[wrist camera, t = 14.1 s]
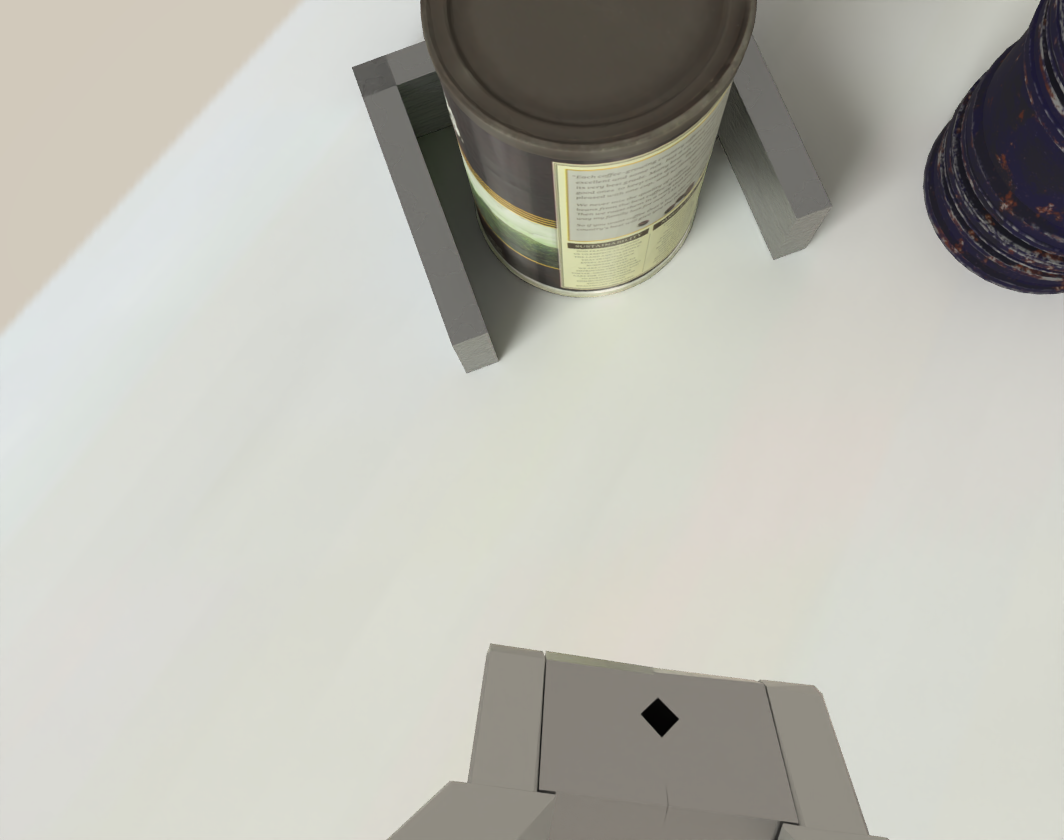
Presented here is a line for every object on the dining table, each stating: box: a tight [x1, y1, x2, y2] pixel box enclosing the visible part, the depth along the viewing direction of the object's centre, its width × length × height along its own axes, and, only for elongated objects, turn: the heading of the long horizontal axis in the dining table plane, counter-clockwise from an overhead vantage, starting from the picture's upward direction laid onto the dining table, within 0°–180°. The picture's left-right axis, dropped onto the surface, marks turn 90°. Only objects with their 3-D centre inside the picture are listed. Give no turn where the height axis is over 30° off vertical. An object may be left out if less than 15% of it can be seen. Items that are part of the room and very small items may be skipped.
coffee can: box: [420, 0, 757, 297], centre depth 35 cm, size 10×10×14 cm
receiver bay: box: [352, 35, 832, 373], centre depth 40 cm, size 14×16×4 cm
